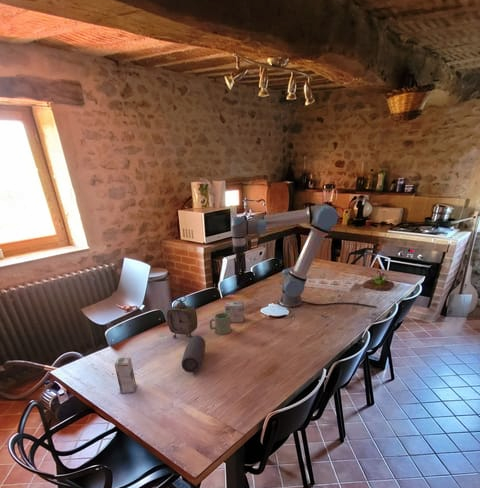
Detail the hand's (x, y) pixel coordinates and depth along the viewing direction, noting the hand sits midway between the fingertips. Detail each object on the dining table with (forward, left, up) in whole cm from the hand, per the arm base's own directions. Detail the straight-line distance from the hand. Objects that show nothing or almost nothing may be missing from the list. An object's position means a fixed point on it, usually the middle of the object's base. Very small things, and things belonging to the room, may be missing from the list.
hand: (241, 283), depth 221 cm
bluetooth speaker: (0, +68, -19) cm, 71 cm away
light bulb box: (0, +13, -19) cm, 23 cm away
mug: (+2, +30, -19) cm, 36 cm away
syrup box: (+18, +97, -19) cm, 100 cm away
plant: (-80, -72, -19) cm, 109 cm away
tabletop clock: (+19, +42, -19) cm, 50 cm away
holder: (-41, -68, -19) cm, 82 cm away
